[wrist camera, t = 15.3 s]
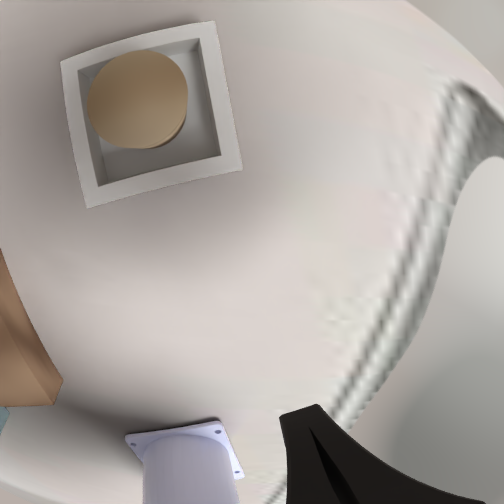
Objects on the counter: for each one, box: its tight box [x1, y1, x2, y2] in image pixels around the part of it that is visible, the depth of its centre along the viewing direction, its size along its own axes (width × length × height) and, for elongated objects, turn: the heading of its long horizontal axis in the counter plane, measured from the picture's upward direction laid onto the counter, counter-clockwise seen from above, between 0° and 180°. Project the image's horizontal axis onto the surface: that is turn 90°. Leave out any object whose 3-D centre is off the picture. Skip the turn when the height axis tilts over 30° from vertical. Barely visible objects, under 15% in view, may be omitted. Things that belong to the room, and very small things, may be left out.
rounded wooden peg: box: [87, 50, 188, 149], centre depth 11 cm, size 4×4×5 cm
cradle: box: [60, 20, 243, 209], centre depth 13 cm, size 7×7×2 cm
